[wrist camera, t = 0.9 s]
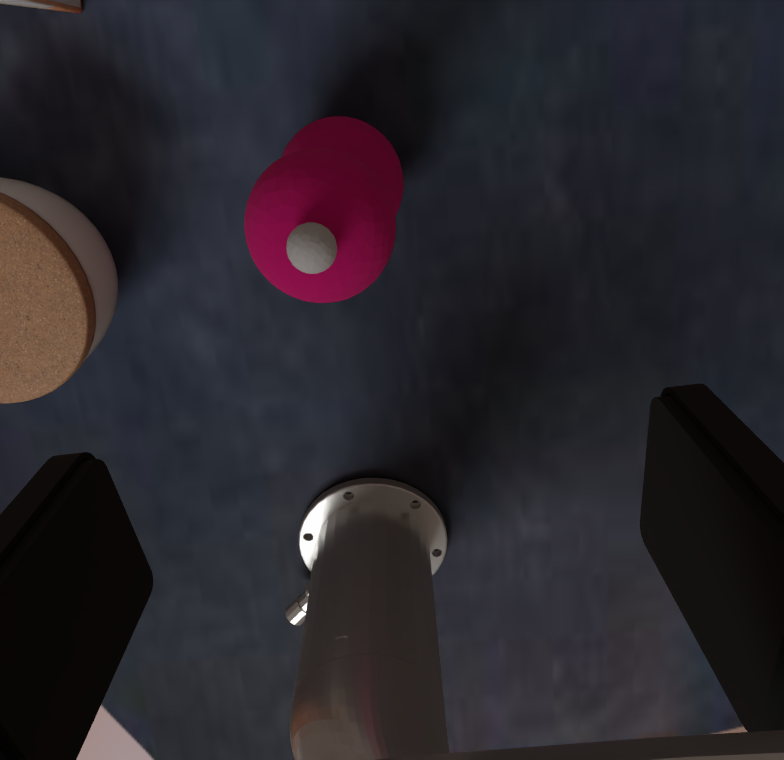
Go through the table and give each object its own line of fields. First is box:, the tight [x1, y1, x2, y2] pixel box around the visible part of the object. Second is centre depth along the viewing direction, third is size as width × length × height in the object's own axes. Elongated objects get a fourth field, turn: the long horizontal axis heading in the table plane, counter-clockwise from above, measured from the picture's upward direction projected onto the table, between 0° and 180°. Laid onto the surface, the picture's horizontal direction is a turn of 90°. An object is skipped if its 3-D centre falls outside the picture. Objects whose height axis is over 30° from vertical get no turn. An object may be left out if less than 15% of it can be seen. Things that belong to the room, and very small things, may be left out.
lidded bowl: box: [0, 177, 118, 403], centre depth 35 cm, size 13×13×11 cm
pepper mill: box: [244, 116, 404, 303], centre depth 29 cm, size 7×7×20 cm
